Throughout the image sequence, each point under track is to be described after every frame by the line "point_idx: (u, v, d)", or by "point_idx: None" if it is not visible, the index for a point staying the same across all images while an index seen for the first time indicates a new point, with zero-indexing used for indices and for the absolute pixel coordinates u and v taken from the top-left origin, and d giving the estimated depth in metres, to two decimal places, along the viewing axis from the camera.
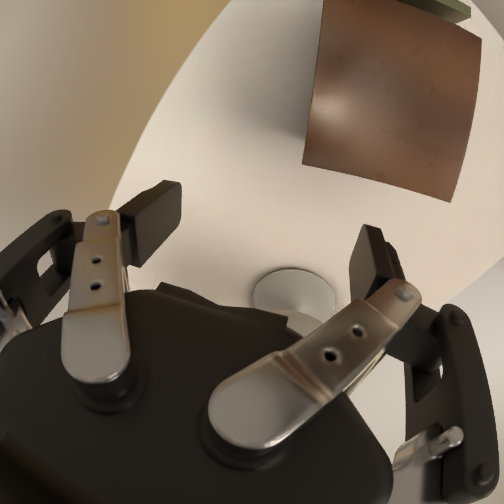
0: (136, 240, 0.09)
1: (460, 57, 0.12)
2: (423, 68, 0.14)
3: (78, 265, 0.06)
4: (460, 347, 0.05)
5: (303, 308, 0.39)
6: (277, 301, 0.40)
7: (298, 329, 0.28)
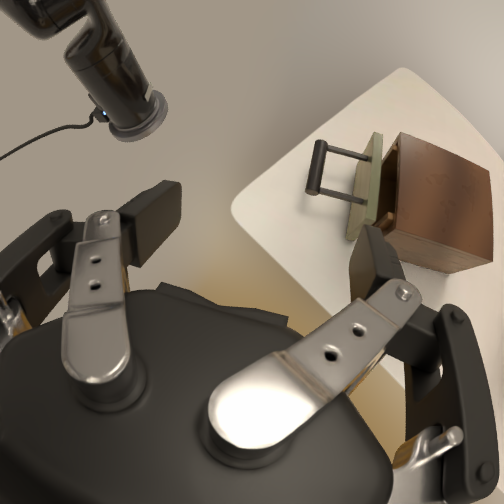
0: (136, 240, 0.09)
1: (420, 151, 0.28)
2: (437, 179, 0.27)
3: (78, 265, 0.06)
4: (460, 347, 0.05)
5: None
6: None
7: None
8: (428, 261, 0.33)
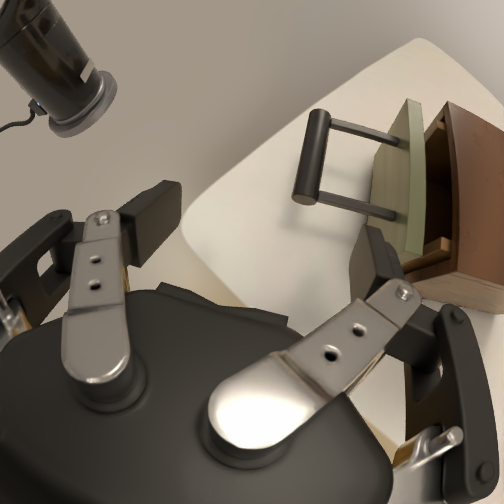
0: (136, 240, 0.09)
1: (479, 133, 0.14)
2: None
3: (78, 265, 0.06)
4: (460, 347, 0.05)
5: None
6: None
7: None
8: (478, 304, 0.19)
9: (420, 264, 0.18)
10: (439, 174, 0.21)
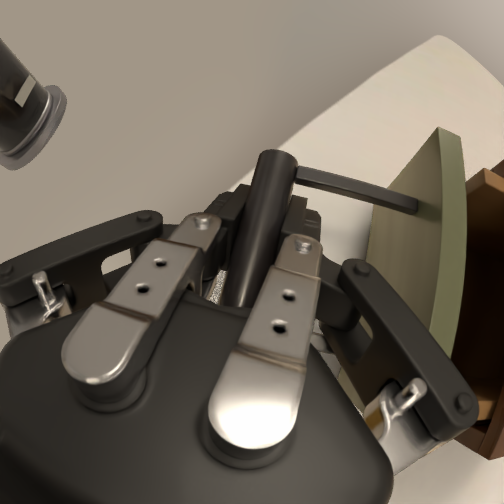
0: (229, 244, 0.10)
1: None
2: None
3: (141, 261, 0.06)
4: (379, 300, 0.07)
5: None
6: None
7: None
8: None
9: None
10: (467, 238, 0.13)
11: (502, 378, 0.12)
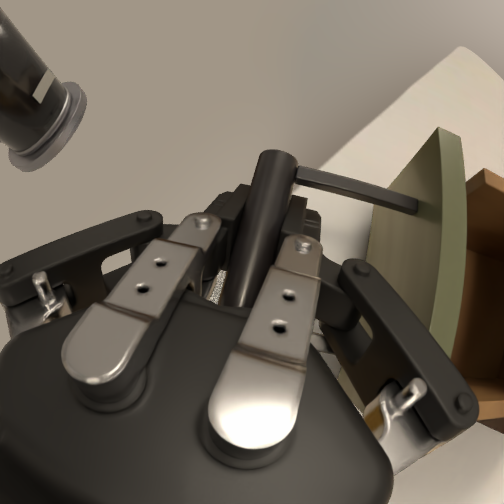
0: (229, 244, 0.10)
1: None
2: None
3: (141, 261, 0.06)
4: (379, 300, 0.07)
5: None
6: None
7: None
8: None
9: None
10: (467, 238, 0.13)
11: (502, 378, 0.12)
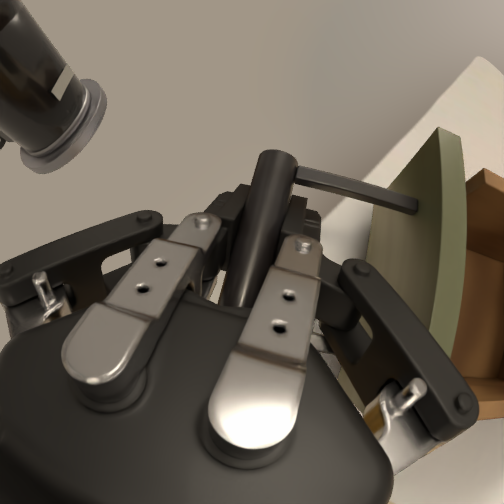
0: (229, 244, 0.10)
1: None
2: None
3: (142, 261, 0.06)
4: (379, 300, 0.07)
5: None
6: None
7: None
8: None
9: None
10: (467, 238, 0.13)
11: (502, 378, 0.12)
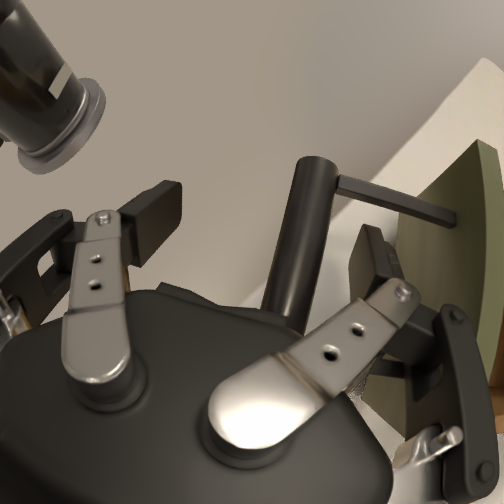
0: (137, 240, 0.09)
1: None
2: None
3: (78, 265, 0.06)
4: (459, 347, 0.05)
5: None
6: None
7: None
8: None
9: None
10: None
11: None
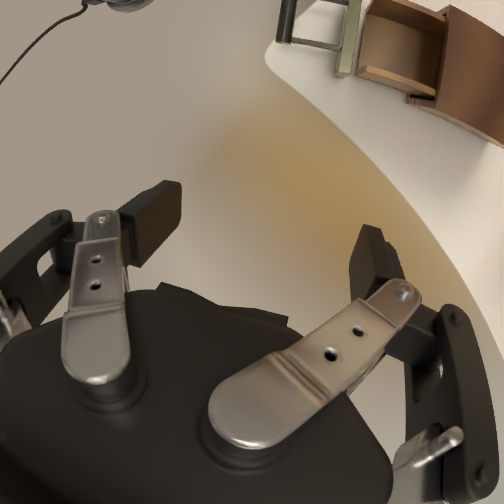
0: (136, 240, 0.09)
1: (471, 30, 0.14)
2: (486, 64, 0.15)
3: (78, 265, 0.06)
4: (460, 347, 0.05)
5: None
6: None
7: None
8: (469, 129, 0.26)
9: (367, 75, 0.25)
10: (394, 18, 0.21)
11: None
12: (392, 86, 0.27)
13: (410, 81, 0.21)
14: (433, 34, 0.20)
